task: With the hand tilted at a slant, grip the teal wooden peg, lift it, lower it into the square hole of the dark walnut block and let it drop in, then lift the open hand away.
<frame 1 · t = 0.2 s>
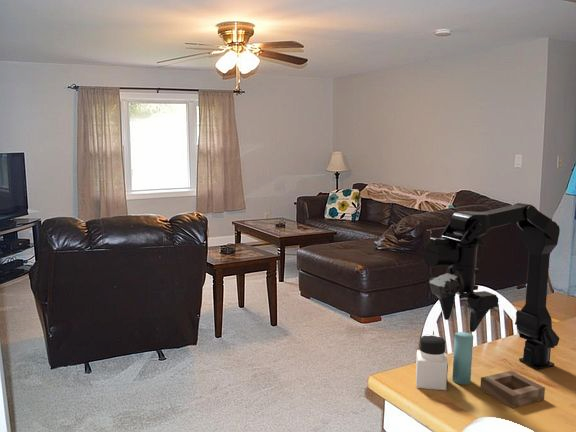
hand: (459, 325, 133), 15 cm above the table, tool pointing down, fingers open, 9 cm apart
hole block: (511, 394, 129), on the table
medicine bottle: (430, 383, 135), on the table
peg: (461, 380, 136), on the table
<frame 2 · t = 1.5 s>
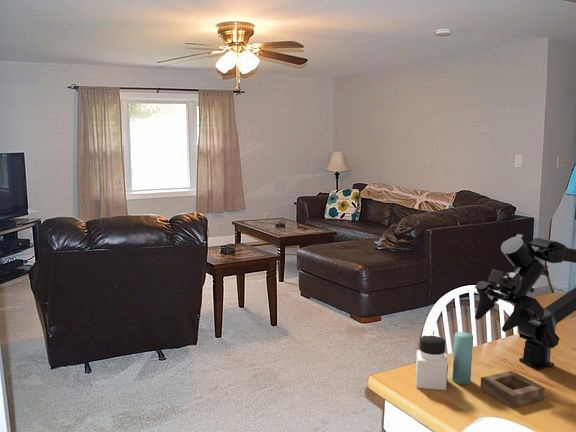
hand: (489, 324, 137), 14 cm above the table, tool tilted 45°, fingers open, 9 cm apart
nothing on the table moved.
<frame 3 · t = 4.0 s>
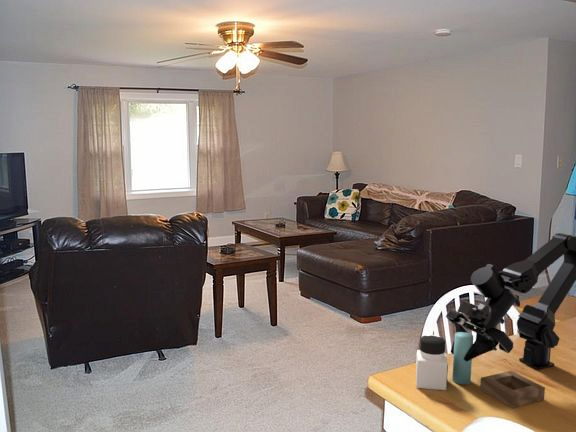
hand: (458, 356, 134), 7 cm above the table, tool tilted 45°, fingers closed on peg, 4 cm apart
peg: (461, 380, 136), on the table, touching gripper
everything else where it was.
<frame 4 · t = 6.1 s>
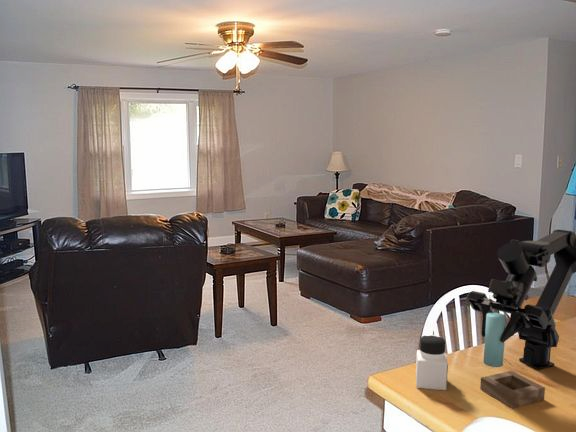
hand: (491, 338, 128), 13 cm above the table, tool tilted 45°, fingers closed on peg, 4 cm apart
peg: (493, 363, 130), point 7 cm above the table, touching gripper
everything else where it was.
when the fingers open (8 cm above the table, at t = 8.1 s): peg drops 2 cm, resting in hole block.
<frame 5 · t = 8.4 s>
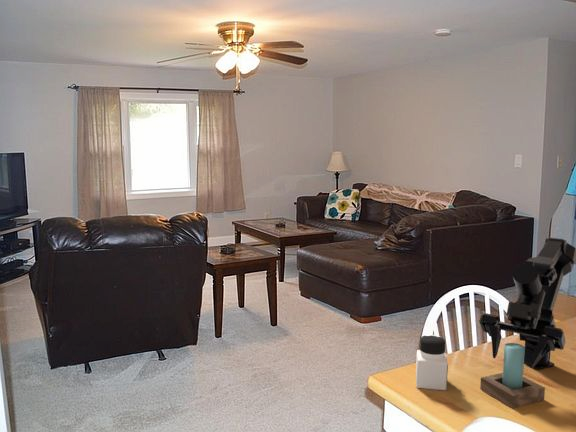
hand: (512, 362, 126), 9 cm above the table, tool tilted 45°, fingers open, 8 cm apart
peg: (511, 394, 129), resting in hole block
everything else where it was.
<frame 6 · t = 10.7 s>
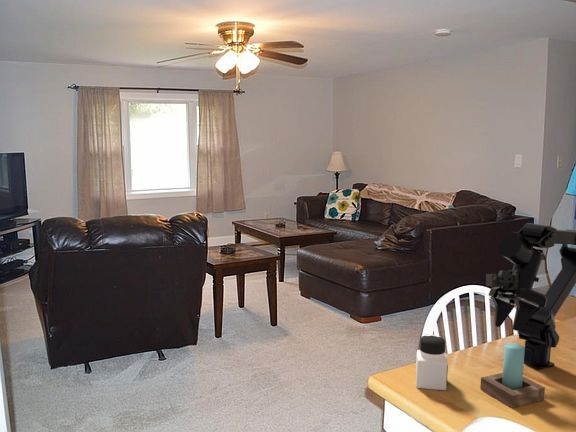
hand: (505, 328, 135), 13 cm above the table, tool tilted 25°, fingers open, 9 cm apart
nothing on the table moved.
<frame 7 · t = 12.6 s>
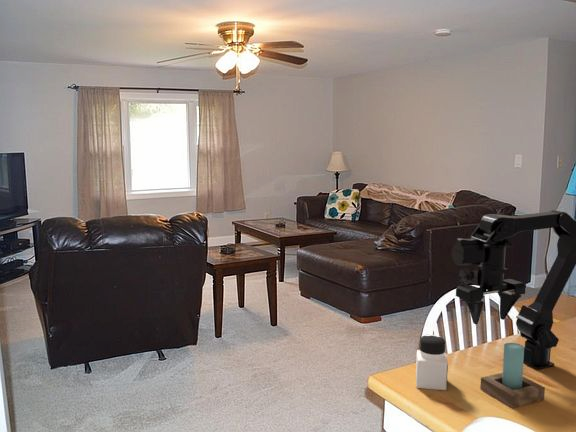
hand: (488, 321, 141), 13 cm above the table, tool pointing down, fingers open, 9 cm apart
nothing on the table moved.
at the end: peg 0.0 cm off-centre on the hole block, point 0.0 cm above the hole block's base; peg tilted 1°; the gripper is holding nothing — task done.
